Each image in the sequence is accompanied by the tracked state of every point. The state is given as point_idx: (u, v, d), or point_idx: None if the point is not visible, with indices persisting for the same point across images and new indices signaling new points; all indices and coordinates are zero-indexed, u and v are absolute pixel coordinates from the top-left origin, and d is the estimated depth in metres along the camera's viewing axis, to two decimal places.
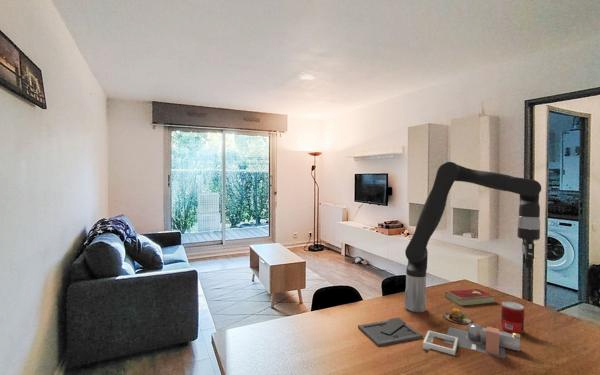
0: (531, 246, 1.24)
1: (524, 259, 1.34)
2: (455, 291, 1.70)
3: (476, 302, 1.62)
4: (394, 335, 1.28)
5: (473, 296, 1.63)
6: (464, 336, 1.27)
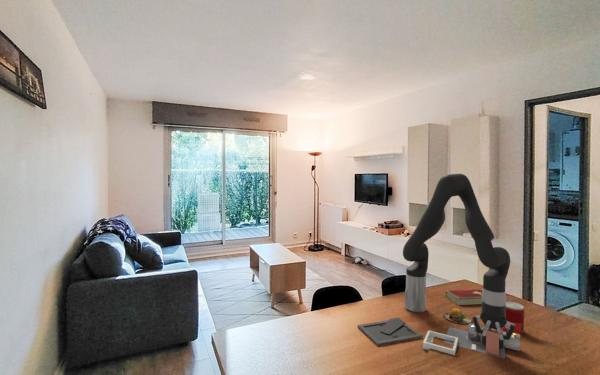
0: None
1: None
2: (455, 291, 1.71)
3: (475, 302, 1.62)
4: (394, 335, 1.28)
5: (472, 296, 1.63)
6: (464, 336, 1.27)
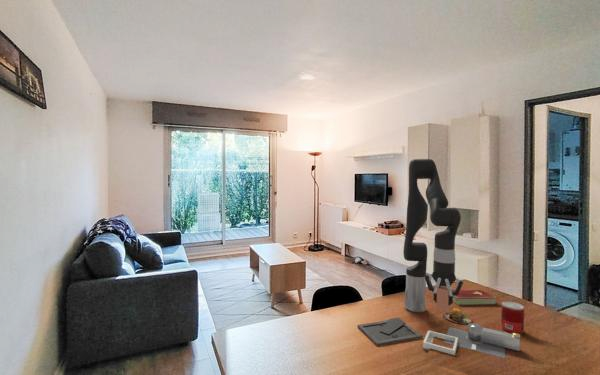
0: (462, 283, 1.17)
1: None
2: None
3: (475, 302, 1.61)
4: (393, 335, 1.28)
5: (472, 296, 1.63)
6: (464, 336, 1.27)
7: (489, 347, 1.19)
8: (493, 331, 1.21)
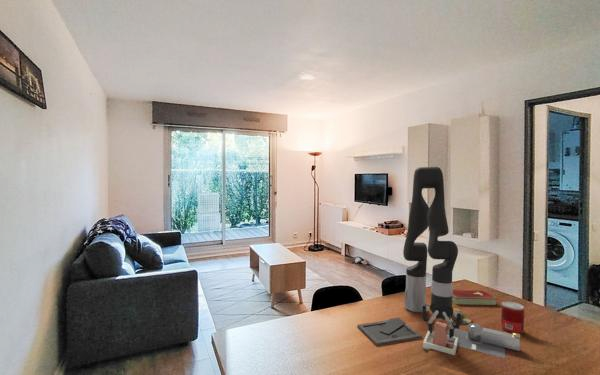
0: None
1: (432, 329, 1.22)
2: (456, 290, 1.71)
3: (474, 302, 1.61)
4: None
5: (471, 296, 1.63)
6: (464, 336, 1.27)
7: (489, 347, 1.19)
8: (493, 331, 1.21)
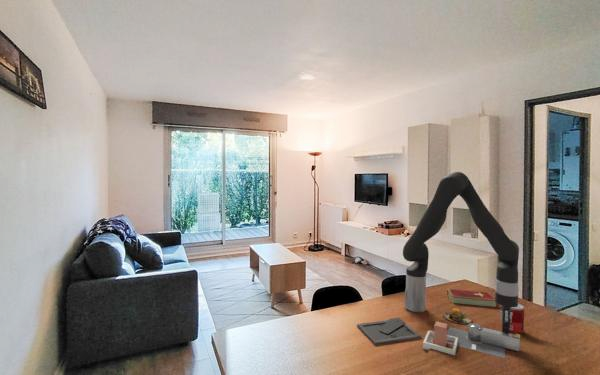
0: None
1: None
2: (457, 290, 1.72)
3: (472, 303, 1.61)
4: (392, 335, 1.29)
5: (470, 296, 1.63)
6: (464, 336, 1.27)
7: (489, 347, 1.19)
8: (493, 331, 1.21)
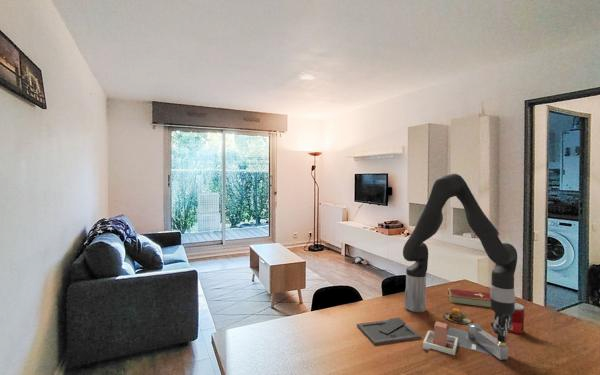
0: None
1: None
2: (458, 290, 1.72)
3: (470, 303, 1.61)
4: (392, 335, 1.29)
5: (469, 296, 1.63)
6: (464, 336, 1.27)
7: None
8: (486, 335, 1.18)
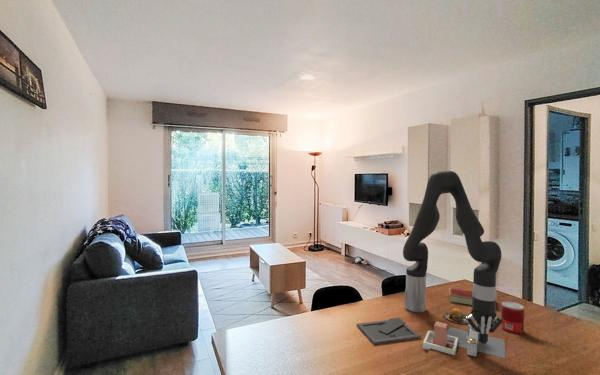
0: None
1: None
2: (458, 290, 1.72)
3: (469, 302, 1.61)
4: (391, 334, 1.29)
5: (468, 296, 1.63)
6: (464, 336, 1.27)
7: (489, 347, 1.19)
8: (473, 333, 1.19)
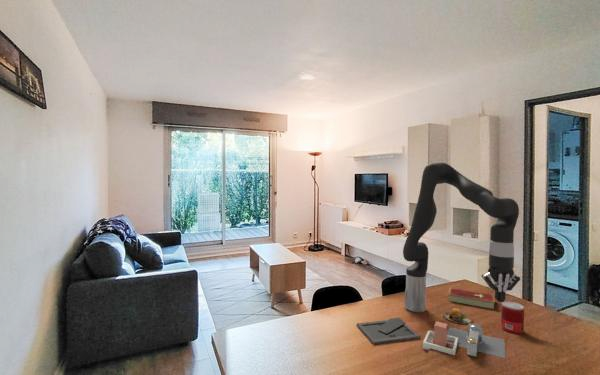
0: None
1: None
2: (459, 290, 1.72)
3: (468, 302, 1.61)
4: (391, 334, 1.29)
5: (467, 296, 1.63)
6: (464, 336, 1.27)
7: (489, 347, 1.19)
8: (473, 333, 1.19)
